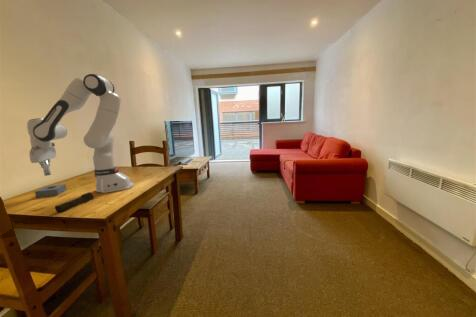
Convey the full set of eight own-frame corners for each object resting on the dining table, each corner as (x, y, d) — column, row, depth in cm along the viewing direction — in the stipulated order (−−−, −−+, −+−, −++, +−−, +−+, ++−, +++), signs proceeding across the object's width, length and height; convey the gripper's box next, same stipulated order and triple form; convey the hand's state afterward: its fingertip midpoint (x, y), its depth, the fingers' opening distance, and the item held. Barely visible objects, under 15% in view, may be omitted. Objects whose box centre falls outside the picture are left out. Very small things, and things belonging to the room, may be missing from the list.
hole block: (66, 189, 138) (65, 184, 137) (58, 195, 128) (56, 189, 127) (46, 191, 135) (45, 186, 134) (36, 197, 125) (34, 191, 124)
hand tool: (60, 213, 102) (58, 204, 101) (55, 212, 103) (53, 204, 102) (97, 199, 119) (95, 191, 118) (92, 198, 120) (90, 191, 120)
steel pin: (51, 174, 131) (48, 158, 129) (49, 175, 128) (45, 159, 126) (46, 174, 130) (42, 159, 128) (43, 175, 127) (39, 160, 125)
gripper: (37, 146, 116) (42, 170, 119) (56, 143, 136) (60, 163, 138) (23, 147, 115) (28, 171, 117) (44, 143, 134) (49, 164, 136)
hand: (46, 167), depth 128 cm, fingers closed on steel pin, 3 cm apart
